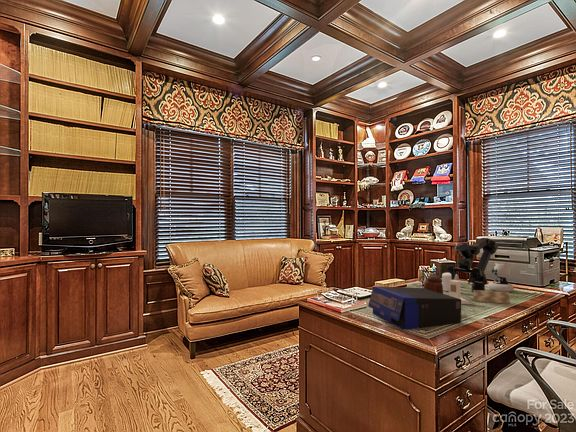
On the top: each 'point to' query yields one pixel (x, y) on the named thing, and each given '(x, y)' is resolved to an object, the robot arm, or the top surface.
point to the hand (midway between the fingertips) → (460, 281)
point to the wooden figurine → (434, 283)
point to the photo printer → (447, 280)
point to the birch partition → (492, 296)
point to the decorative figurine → (501, 279)
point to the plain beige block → (455, 289)
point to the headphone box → (414, 307)
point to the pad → (464, 301)
